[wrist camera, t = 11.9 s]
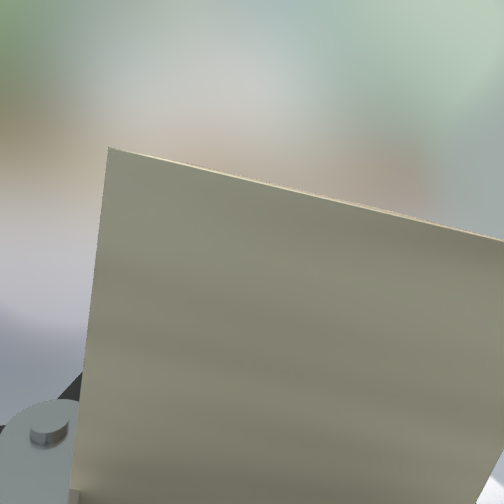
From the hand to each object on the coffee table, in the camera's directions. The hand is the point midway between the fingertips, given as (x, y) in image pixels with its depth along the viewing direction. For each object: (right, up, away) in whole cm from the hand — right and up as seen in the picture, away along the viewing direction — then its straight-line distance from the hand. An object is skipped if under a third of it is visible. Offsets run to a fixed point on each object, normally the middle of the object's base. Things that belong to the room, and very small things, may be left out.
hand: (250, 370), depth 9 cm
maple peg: (-2, -9, -1) cm, 9 cm away
